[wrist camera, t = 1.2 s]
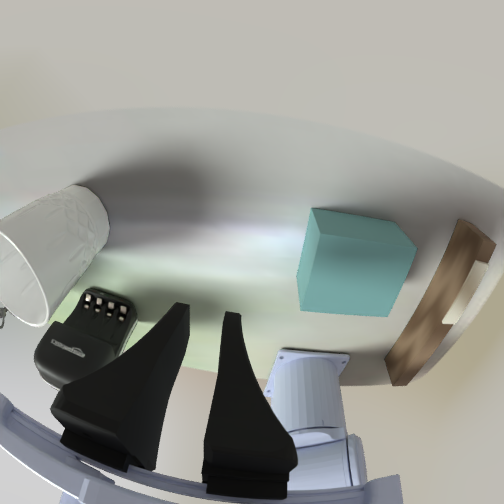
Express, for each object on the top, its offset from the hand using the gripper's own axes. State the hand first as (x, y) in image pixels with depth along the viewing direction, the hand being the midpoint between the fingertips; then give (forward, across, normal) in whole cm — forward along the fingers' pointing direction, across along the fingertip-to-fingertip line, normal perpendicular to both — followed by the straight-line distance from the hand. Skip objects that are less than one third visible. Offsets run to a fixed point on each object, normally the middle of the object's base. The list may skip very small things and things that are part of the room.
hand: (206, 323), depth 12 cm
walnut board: (+10, -20, +4) cm, 23 cm away
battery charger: (+10, +12, +10) cm, 19 cm away
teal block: (+10, -9, 0) cm, 14 cm away
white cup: (+10, +14, +1) cm, 17 cm away
